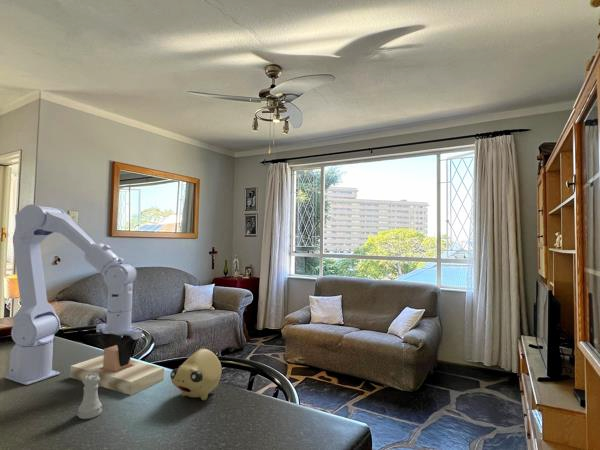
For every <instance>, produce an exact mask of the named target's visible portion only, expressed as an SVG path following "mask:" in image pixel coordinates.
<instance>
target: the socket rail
mask: <svg viewBox="0 0 600 450" xmlns="http://www.w3.org/2000/svg"><path fill="white" fill-rule="evenodd" d="M103 359H104V354H103V355H99V356H96V357H93V358H90V359H88V360H85V361H82V362H78V363H76V364H72V365H70V368H69V369H70V375H69V377H70V378H71V379H74V380H78V381H80V382H81V381H83V379H84V376H85V375H87V376H88V374H90V373H91V375H93V373H96V374H97V373H98V376H99V377H100V380H99V381H98V386H99V387H102V388H106V389H108V390H112V391H114V392H119V393H122V394H125V395H129V396H132V395H134V394H137V393H138V392H140V391H142V390H145V389H146V388H149V387H152V386H153V385H155V384H158V383H160V382H162V381H164V380H165V377H164V376H165V367H161V366H159V365H158V366H157V365H152V364H149V363H145V362H140V361H135V360H131V359H130V367H129V368H127V369H124V370H121V371H119V372H116V373H114V372H110V371H106V370H103Z"/></svg>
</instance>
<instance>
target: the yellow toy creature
mask: <svg viewBox="0 0 600 450" xmlns="http://www.w3.org/2000/svg"><path fill="white" fill-rule="evenodd" d="M221 377H222V364H221V361H220V360H219V358H218V356H217V354H215V353H214V352H213V351H211V350H210V349H207V348H200V349H198V350H197V351H195V352H194V353H193V354H191V355H190V356H188V358H187V359H186V360H185V361H184V362H183V363H182V364H181V365H179V366H178V368H177V367H176V368H173V370H172V371H171V372H170V380H171V383H172V384H173V386H174V387H176V388H177V389H179V391H180V392H181V395H182V396H183V397H186V396H187V397H190V398H200V399H201V400H202V401H206V400H207V399H208V395H209V393H211V392H212V391H213V390H214V389H215V388H216V387H218V386H219V383H220V380H221Z"/></svg>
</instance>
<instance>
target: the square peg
mask: <svg viewBox="0 0 600 450" xmlns="http://www.w3.org/2000/svg"><path fill="white" fill-rule="evenodd" d="M103 355H104V359H103V370H106V371H110V372H114V373H116V372H119V371H121V370H124V369H127V368H129V367H130V360H131V359H130V360H129V363H128V364H127V365H124V366H120V363H119V352H118V347H117V345H115V346H112V347H109V348H105V349H104V350H103Z"/></svg>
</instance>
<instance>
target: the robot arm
mask: <svg viewBox="0 0 600 450" xmlns="http://www.w3.org/2000/svg"><path fill="white" fill-rule="evenodd" d="M14 217H15V224H16V225H15V228H14V233H13V235H12V245H13V253H14V261H15V268H16V269H15V270H16V276H17V285H18V293H19V294H18V295H19V300H20V308H19V309H18V310H17V312H16V313H15V314H14V315H13V317H12V319H13V324H12V328H11V331H10V334H11V339H12V340H13V341H14V343H15V344H14V345H13V347H12V348H11V351H10V354H9V357H10V358H9V374H7V375H6V376H4V379H7V380H10V381H13V382H15V383H19V384H21V385H24V386H25V385H26V386H27V385H32V384H34V383H37V382H39V381H43V380H46V379H49V378H53V377H55V376H58V375H60V371H56V370H53V354H54V353H53V351H54V350H53V349H54V339H55V334H56V333H58V331H59V329H60V327H61V320H60V318H59V316H58V315H57V313H56V310H55V309H56V307H55V306H53V305H52V304H50V303H49V302H48V298H47V297H48V296H47V287H46V282H45V281H46V279H45V274H44V273H45V272H44V267H43V266H44V265H43V258H42V257H43V256H42V249H41V244H42V242H43V241H44V240H45V239H46V238H47V237H48V236H50V235H52V234H54V233H56V234H61V235H62V236H63V237H64V238H66V239H67V240H68V241H69V242H71V243H72V244H73V245H75V246H76V247H77V248H78V249H80V250H81V251H83V253H84V260H85V261H86V262H87V263H89V264H90V265H91V266H92V267H93V268H94V269H95V270H96V271H98V272H99V274H101V275H102V276H103V277H102V278H103V281H104V283H105V285H106V286H107V305H106V306H107V307H106V308H107V310H106V323H104V322H103V323H98V324H96V333H102V334H101V335H98V336H97V340H98V341H99V343H100V345H101V346H102V349H103V351H104V349H105V348H109V347H112V346H115V345H117V347H118V352H119V363H120V366H124V365H127V364H128V363H129V360H131V356H132V354H133V353H132V352H133V350H134V348H135V346H136V345H137V343H138V341H139V340H140V339H142V338H143V330H142V329H139V328H137V327H135V326H133V325H132V313H133V311H132V310H133V282H135V280H137V276H138V275H137V274H138V271H137V269H136V267H135V266H134V264H133V263H131V262H124V261H125V260H124V258H123V257H119V256H118V255H117V254H115V252H114V251H112V250H111V249H112V247H111V245H109V244H104V243H102V242H101V243H96V242H95V241H94V240H93V238H91V237H90V236H89V235H88V233H86V232H85V231H84V230H83V229H82V228H81V227H80V226H79V225H78V224H77V223H76V222H75V221H74V220H73V219H72V216H71V215H70V214H68V213H66V212H65V210H63V209H62V208H60V207H55V206H54V207H50V206H43V205H42V206H41V205H37V204H32V203H31V204H27V205H25V206H23V207H22V208H21V209H20V210H19V211H18V212H17V213H16V214H15V216H14Z"/></svg>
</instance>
